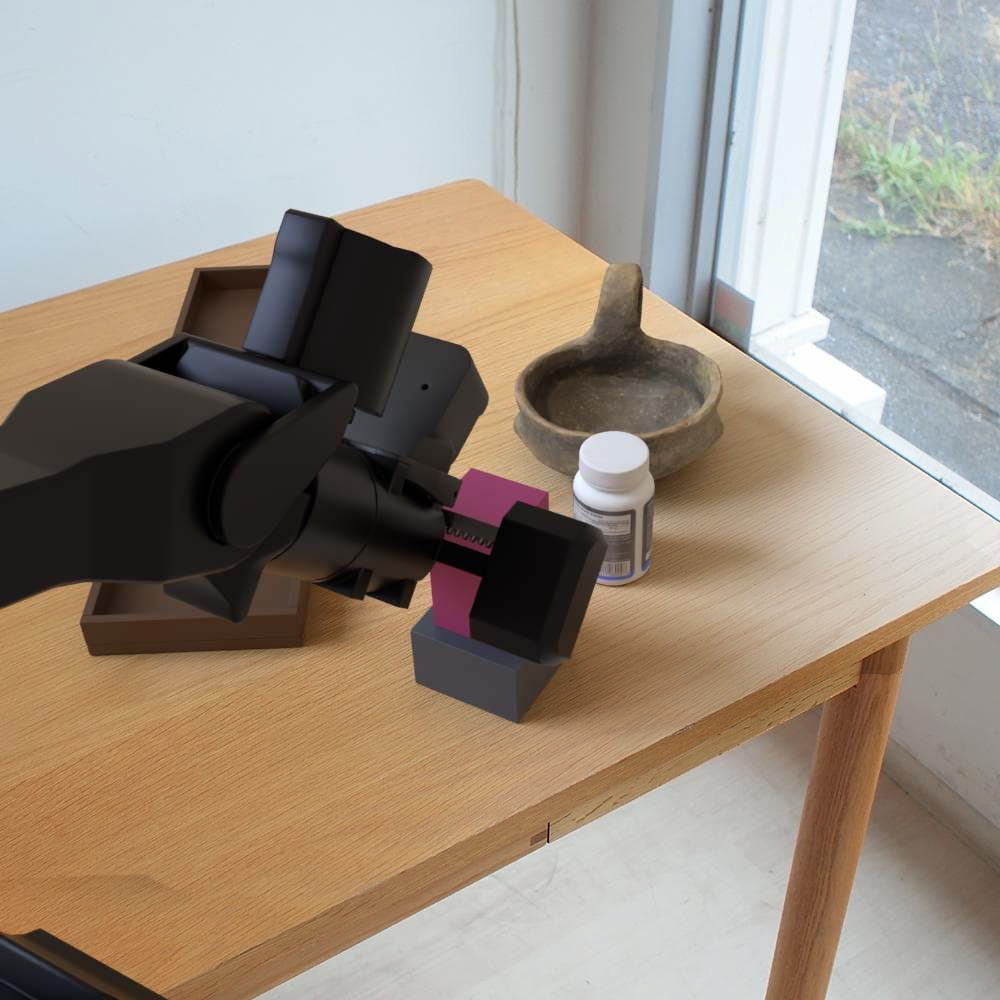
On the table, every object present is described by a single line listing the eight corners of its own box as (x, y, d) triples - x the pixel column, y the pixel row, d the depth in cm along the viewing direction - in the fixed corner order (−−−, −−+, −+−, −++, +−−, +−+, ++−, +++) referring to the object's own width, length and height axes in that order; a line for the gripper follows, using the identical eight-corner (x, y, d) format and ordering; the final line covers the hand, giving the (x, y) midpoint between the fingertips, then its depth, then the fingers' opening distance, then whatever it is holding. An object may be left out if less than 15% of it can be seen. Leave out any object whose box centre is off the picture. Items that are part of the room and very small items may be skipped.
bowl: (501, 515, 84) (496, 384, 78) (533, 367, 98) (531, 245, 91) (720, 528, 82) (732, 395, 76) (721, 375, 96) (731, 252, 90)
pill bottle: (613, 526, 83) (616, 416, 78) (667, 563, 80) (673, 451, 75) (556, 559, 81) (555, 448, 75) (610, 599, 78) (612, 486, 72)
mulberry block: (509, 653, 69) (504, 543, 64) (434, 625, 71) (424, 516, 66) (550, 600, 72) (549, 491, 67) (477, 574, 74) (471, 467, 69)
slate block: (518, 724, 70) (516, 671, 68) (415, 682, 73) (409, 630, 70) (573, 647, 75) (573, 595, 72) (474, 611, 77) (471, 559, 75)
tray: (302, 647, 75) (297, 613, 74) (89, 655, 75) (78, 622, 74) (349, 289, 108) (345, 261, 106) (199, 295, 108) (194, 267, 106)
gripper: (590, 374, 49) (692, 455, 63) (197, 266, 56) (367, 360, 71) (492, 661, 48) (617, 677, 63) (110, 514, 56) (299, 558, 70)
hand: (468, 556), depth 66 cm, fingers open, 9 cm apart
